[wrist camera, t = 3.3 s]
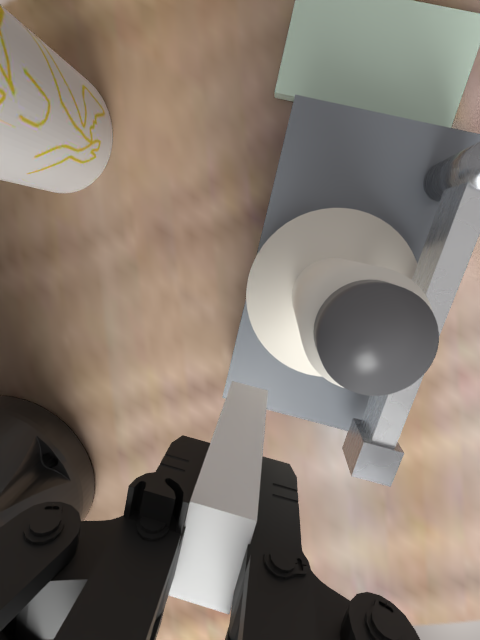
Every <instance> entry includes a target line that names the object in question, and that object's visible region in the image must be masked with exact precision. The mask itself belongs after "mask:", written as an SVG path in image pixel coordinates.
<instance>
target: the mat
mask: <svg viewBox="0 0 480 640" xmlns="http://www.w3.org/2000/svg"><path fill="white" fill-rule="evenodd" d="M479 46H480V14H479V13H474V12H469V11H464V10H459V9H454V8H449V7H444V6H439V5H434V4H429V3H424V2H419V1H413V0H295V4H294V8H293V13H292V17H291V22H290V26H289V30H288V35H287V39H286V44H285V48H284V53H283V57H282V61H281V66H280V70H279V75H278V79H277V83H276V88H275V98H279V99H283V100H288V101H294V97H295V95H300V96H305V97H309V98H314V99H318V100H323V101H328V102H332V103H337V104H342V105H346V106H351V107H356V108H360V109H365V110H370V111H374V112H379V113H383V114H388V115H393V116H397V117H402V118H407V119H411V120H416V121H421V122H425V123H430V124H435V125H439V126H444V127H449V128H451V126H452V123H453V120H454V118H455V115H456V112H457V109H458V106H459V103H460V100H461V97H462V95H463V92H464V89H465V86H466V83H467V80H468V77H469V75H470V72H471V69H472V66H473V63H474V60H475V57H476V54H477V52H478V49H479Z"/></svg>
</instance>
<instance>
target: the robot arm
mask: <svg viewBox="0 0 480 640" xmlns="http://www.w3.org/2000/svg"><path fill="white" fill-rule="evenodd" d="M267 396H268V390H264V389H260V388H257V387H253V386H249V385H245V384H242V383H238V382H234V381H232V383H231V386H230V389H229V392H228V394H227V397H226V400H225V403H224V406H223V409H222V411H221V414H220V417H219V420H218V423H217V426H216V429H215V431H214V434H213V437H212V440H211V443H208V442H205V441H201V440H197V439H194V438H190V437H187V436H181V437H180V438H178V439H177V440H175V441H174V442H172V443H171V445H170V447H169V448H168V450H167V452H166V454H165V456H164V458H163V459H162V461H161V463H160V465H159V467H158V469H157V470H156V472H154V473H147V474H144V475H142V476H140V477H138V478H136V479H135V480H134V481H133V482H132V483H131V484H130V485H129V488H128V494H127V500H126V505H125V511H124V515H123V516H121V517H119V518H116V519H112V520H105V521H83V520H84V519H85V517H86V515H87V514H88V512H89V510H90V507H91V505H92V502H93V497H94V487H95V484H94V474H93V469H92V466H91V462H90V460H89V457H88V455H87V453H86V451H85V449H84V447H83V445H82V444H81V442H80V441H79V439H78V438H77V437H76V435H75V434H74V433H73V432H72V431H71V429H70V428H69V427H68V426H67V425H66V424H65V423H64V422H62V421H61V420H60V419H59V418H58V417H56V416H55V415H54V414H52V413H51V412H49V411H48V410H46V409H44V408H42V407H40V406H38V405H36V404H34V403H32V402H29V401H26V400H23V399H19V398H15V397H9V396H0V640H156V637H157V634H158V630H159V627H160V624H161V620H162V616H163V612H164V607H165V604H166V601H167V598H168V595H169V596H172V597H175V598H178V599H182V600H185V601H188V602H191V603H195V604H198V605H201V606H204V607H207V608H211V609H214V610H217V611H220V612H223V613H227V614H229V613H230V610H231V617H230V624H229V628H228V631H227V635H226V638H225V640H420V639H419V637H418V635H417V633H416V631H415V629H414V628H413V626H412V625H411V623H410V622H409V620H408V619H407V618H406V616H405V615H404V614H403V613H402V612H401V611H400V610H399V609H398V608H397V607H396V606H395V605H394V604H393V603H391V602H390V601H388V600H386V599H385V598H383V597H382V596H380V595H377V594H373V593H369V592H365V593H360V594H357V595H356V596H355V597H354V598H353V599H352V600H351V601H349V600H348V599H346V598H345V597H343V596H342V595H340V594H338V593H337V592H335V591H334V590H332V589H330V588H329V587H328V586H326V585H325V584H324V583H322V582H321V581H320V580H319V579H318V578H317V577H316V576H315V575H314V574H313V572H312V571H311V569H310V565H309V562H308V560H307V558H306V557H305V555H304V554H303V552H302V546H301V532H300V518H299V504H298V493H297V477H296V475H295V473H294V471H293V470H292V468H291V466H290V464H287V463H284V462H280V461H277V460H273V459H270V458H266V457H262V456H263V444H264V432H265V420H266V408H267ZM231 607H232V609H231Z"/></svg>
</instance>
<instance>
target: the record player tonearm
mask: <svg viewBox="0 0 480 640" xmlns="http://www.w3.org/2000/svg"><path fill="white" fill-rule="evenodd" d="M424 189H425V192H426V194H427V196H428V197H429V198H430V199H432V200H434V201H436V202H440V203H439V205H438V208H437V211H436V214H435V216H434V219H433V222H432V225H431V228H430V230H429V233H428V236H427V239H426V242H425V244H424V247H423V250H422V253H421V255H420V258H419V261H418V264H417V267H416V269H415V272H414V275H413V278H412V281H414V282H415V283H416V284H417V285H418V286H419V287H420V288H421V289H422V291H423V292H424V293H425V295H426V297H427V298H428V300H429V302H430V305H431V307H432V311H433V314H434V316H435V318H436V321H437V325H438V331H439V335H440V333H441V330H442V328H443V325H444V323H445V320H446V318H447V315H448V313H449V310H450V308H451V305H452V302H453V300H454V297H455V295H456V292H457V290H458V287H459V285H460V282H461V280H462V277H463V275H464V272H465V270H466V267H467V265H468V262H469V260H470V257H471V254H472V252H473V249H474V247H475V244H476V242H477V239H478V237H479V234H480V142H478V143H476V144H474V145H472V146H470V147H468V148H467V149H465V150H463V151H461V152H459V153H457V154H455V155H453V156H451V157H449V158H447V159H445V160H443V161H441V162H439V163H437V164H435V165H434V166H433V167H431V168H430V170H429V171H428V172H427V174H426V176H425V179H424ZM423 376H424V375H423ZM423 376H422V377H421V378H420V379H418V380H417V381H416V382H415V383H413V384H412V385H411V386H409V387H407V388H405V389H403V390H401V391H398V392H395V393H392V394H388V395H381V396H370V398H369V400H368V403H367V406H366V409H365V411H364V414H363V417H362V420H360V419H356V418H353V419H352V422H351V425H350V428H349V431H348V433H347V436H346V439H345V442H344V445H343V452H344V455H345V458H346V461H347V464H348V467H349V470H350V473H351V476H353V477H357V478H360V479H364V480H368V481H371V482H375V483H379V484H382V485H386V486H390V487H391V484H392V482H393V480H394V477H395V475H396V472H397V470H398V467H399V465H400V462H401V460H402V457H403V455H404V452H403V450H402V449H401V447H400V445H399V444H398V442H397V441H398V439H399V436H400V434H401V431H402V429H403V426H404V424H405V421H406V419H407V416H408V414H409V411H410V409H411V406H412V404H413V401H414V399H415V396H416V393H417V391H418V388H419V386H420V383H421V381H422V378H423Z"/></svg>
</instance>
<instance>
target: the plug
mask: <svg viewBox="0 0 480 640" xmlns="http://www.w3.org/2000/svg"><path fill="white" fill-rule="evenodd" d="M416 267H417V261H416V259H415V257H414V255H413V252H412V250H411V249H410V247H409V246H408V244H407V242H406V241H405V240H404V239H403V237H402V236H401V235H400V234H399V233H398V232H397V231H396V230H395V229H394V228H393V227H391V226H390V225H389V224H388V223H386V222H384V221H383V220H381V219H380V218H378V217H376V216H373V215H371V214H369V213H366V212H363V211H359V210H355V209H349V208H327V209H320V210H316V211H312V212H308V213H306V214H303V215H301V216H298V217H296V218H295V219H293V220H291V221H289V222H287V223H286V224H285V225H283V226H282V227H281V228H279V229H278V230H277V231H276V232H275V233H274V234H273V235H272V236H271V237H270V238H269V239H268V240H267V241H266V242H265V244H264V245H263V246H262V248H261V249H260V251H259V252H258V254H257V256H256V258H255V260H254V262H253V264H252V267H251V270H250V273H249V276H248V282H247V289H246V302H247V311H248V315H249V319H250V322H251V325H252V327H253V330H254V332H255V334H256V335H257V337H258V339H259V340H260V342H261V343H262V345H263V346H264V347H265V348H266V349H267V350H268V352H269V353H270V354H271V355H273V356H274V357H275V358H276V359H277V360H279V361H280V362H282V363H283V364H285V365H286V366H288V367H290V368H292V369H294V370H296V371H299V372H302V373H305V374H308V375H314V376H320V377H324V378H325V379H326V380H328V381H329V382H331V383H333V384H335V385H337V386H339V387H342V388H345V389H348V390H350V391H352V392H355V393H358V394H362V395H370V396H381V395H388V394H392V393H395V392H398V391H401V390H403V389H405V388H407V387H409V386H411V385H412V384H413V383H415V382H416V381H417V380H418V379H420V378H421V377H422V376H423V375H424V373H425V372H426V371H427V370H428V368H429V367H430V365H431V364H432V362H433V360H434V358H435V355H436V352H437V349H438V343H439V331H438V325H437V321H436V318H435V316H434V314H433V311H432V307H431V305H430V302H429V300H428V298H427V297H426V295H425V293H424V292H423V291H422V289H421V288H420V287H419V286H418V285H417V284H416V283H415V282H414V281H412V278H413V275H414V272H415V269H416Z"/></svg>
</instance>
